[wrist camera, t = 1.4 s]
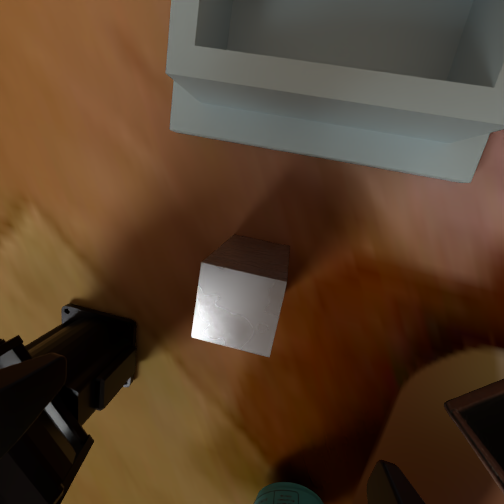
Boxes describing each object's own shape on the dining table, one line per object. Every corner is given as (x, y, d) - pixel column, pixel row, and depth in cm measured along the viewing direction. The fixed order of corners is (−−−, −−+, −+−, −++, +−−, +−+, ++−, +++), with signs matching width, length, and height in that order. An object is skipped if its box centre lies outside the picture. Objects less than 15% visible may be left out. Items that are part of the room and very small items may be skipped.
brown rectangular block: (225, 285, 20) (191, 337, 13) (234, 234, 19) (201, 262, 12) (278, 297, 20) (269, 357, 13) (289, 246, 18) (287, 281, 12)
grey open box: (176, 132, 18) (126, 110, 12) (198, -104, 14) (143, -268, 9) (459, 182, 16) (541, 182, 11) (559, -75, 13) (748, -259, 7)
